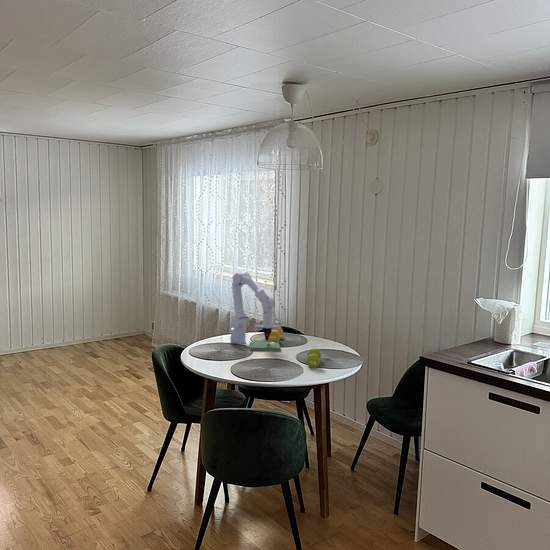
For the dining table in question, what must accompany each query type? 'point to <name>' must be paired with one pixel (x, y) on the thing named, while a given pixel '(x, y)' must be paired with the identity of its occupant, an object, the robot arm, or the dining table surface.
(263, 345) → the putting deck
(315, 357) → the green grapes
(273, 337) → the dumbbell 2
